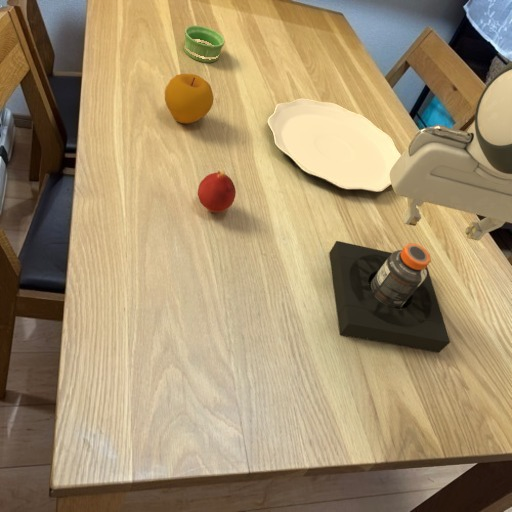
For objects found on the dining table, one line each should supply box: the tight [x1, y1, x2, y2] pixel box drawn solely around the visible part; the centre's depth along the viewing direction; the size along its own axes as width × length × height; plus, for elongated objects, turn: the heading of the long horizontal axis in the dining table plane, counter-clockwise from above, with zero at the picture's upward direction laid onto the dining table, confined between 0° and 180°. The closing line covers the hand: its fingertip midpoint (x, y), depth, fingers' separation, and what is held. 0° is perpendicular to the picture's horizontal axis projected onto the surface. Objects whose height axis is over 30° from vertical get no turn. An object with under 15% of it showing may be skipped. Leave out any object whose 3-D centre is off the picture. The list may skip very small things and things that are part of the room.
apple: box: [164, 73, 215, 124], centre depth 90 cm, size 9×9×9 cm
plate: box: [266, 97, 402, 193], centre depth 101 cm, size 29×29×2 cm
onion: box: [197, 170, 237, 213], centre depth 76 cm, size 6×6×8 cm
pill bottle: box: [368, 242, 432, 309], centre depth 73 cm, size 6×6×11 cm
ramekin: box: [183, 25, 226, 63], centre depth 111 cm, size 9×9×4 cm
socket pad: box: [328, 240, 451, 353], centre depth 76 cm, size 16×16×3 cm
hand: (439, 229), depth 65 cm, fingers open, 8 cm apart
